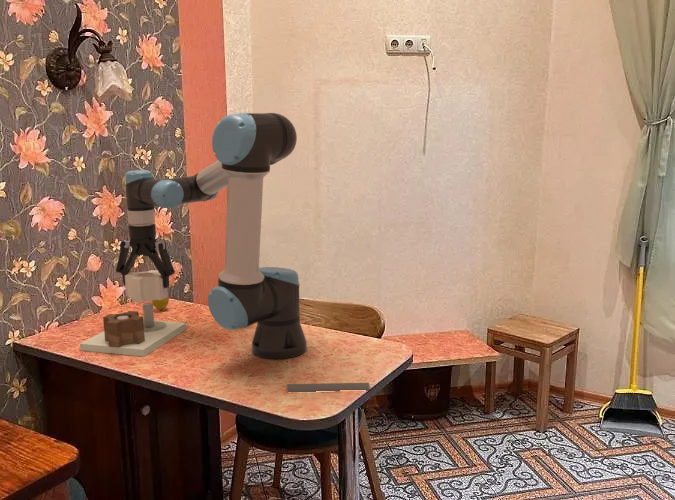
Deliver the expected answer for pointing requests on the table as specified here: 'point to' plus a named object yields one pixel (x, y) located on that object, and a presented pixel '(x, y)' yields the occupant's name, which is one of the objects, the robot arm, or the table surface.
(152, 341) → the board
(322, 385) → the gray half cylinder
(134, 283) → the cream gear
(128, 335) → the walnut gear
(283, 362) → the table surface
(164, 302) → the lemon
